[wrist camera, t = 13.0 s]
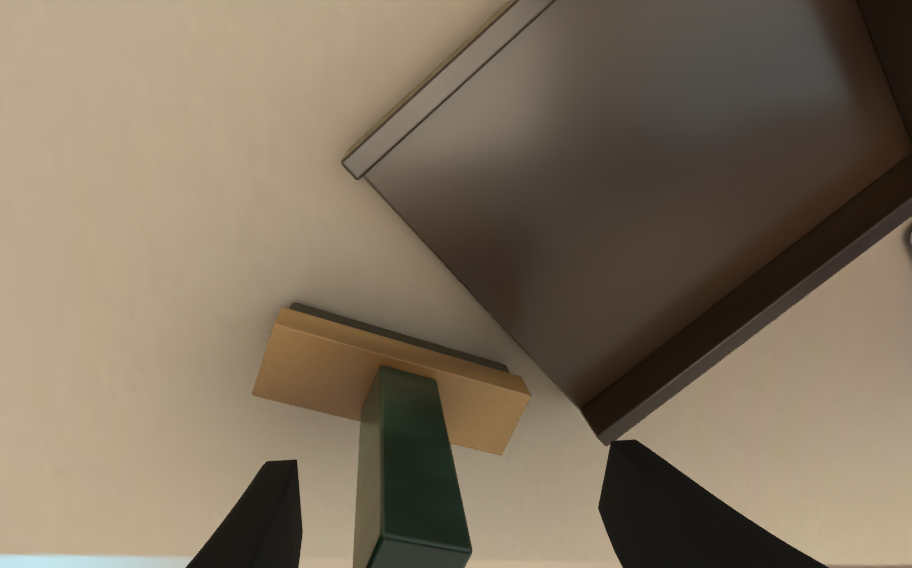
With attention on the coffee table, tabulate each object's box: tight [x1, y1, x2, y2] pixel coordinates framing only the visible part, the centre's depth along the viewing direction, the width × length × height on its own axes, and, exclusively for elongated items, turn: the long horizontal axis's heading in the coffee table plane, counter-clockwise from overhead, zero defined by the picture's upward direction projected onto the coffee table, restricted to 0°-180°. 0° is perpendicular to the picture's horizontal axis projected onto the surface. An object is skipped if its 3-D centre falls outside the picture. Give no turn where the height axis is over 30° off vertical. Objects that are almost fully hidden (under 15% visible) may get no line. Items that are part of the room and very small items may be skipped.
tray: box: [341, 0, 912, 446], centre depth 14 cm, size 12×14×3 cm
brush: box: [252, 303, 531, 568], centre depth 13 cm, size 8×2×8 cm, turn 68°
